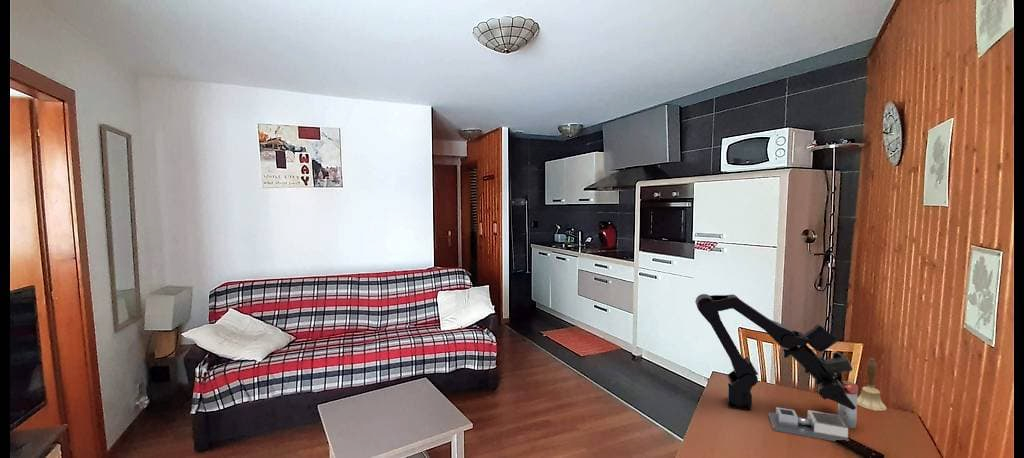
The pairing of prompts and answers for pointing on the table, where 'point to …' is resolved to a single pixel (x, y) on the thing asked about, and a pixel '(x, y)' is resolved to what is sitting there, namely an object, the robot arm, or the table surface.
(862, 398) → the hand bell
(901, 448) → the table surface
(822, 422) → the desk organizer
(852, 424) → the grey jar
